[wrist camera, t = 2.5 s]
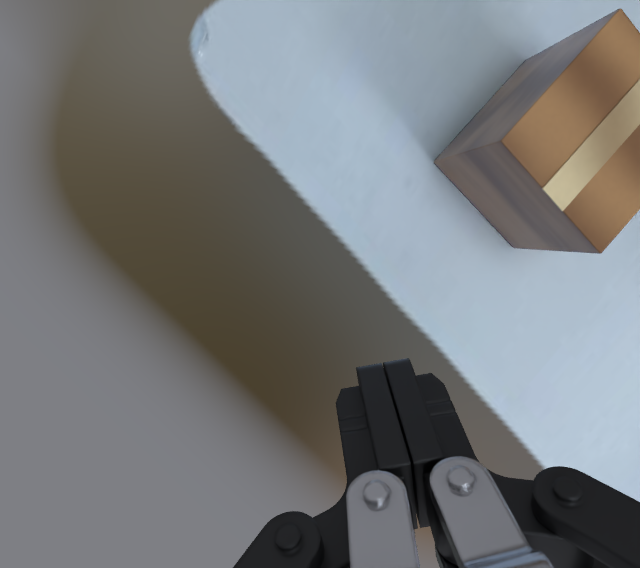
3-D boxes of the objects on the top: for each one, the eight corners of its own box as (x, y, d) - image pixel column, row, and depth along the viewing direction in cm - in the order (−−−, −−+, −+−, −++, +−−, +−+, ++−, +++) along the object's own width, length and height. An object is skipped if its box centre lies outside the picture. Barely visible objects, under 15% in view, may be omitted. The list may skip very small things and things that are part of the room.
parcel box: (513, 249, 34) (601, 255, 26) (432, 162, 33) (500, 141, 25) (601, 149, 35) (714, 125, 27) (526, 59, 33) (622, 5, 25)
